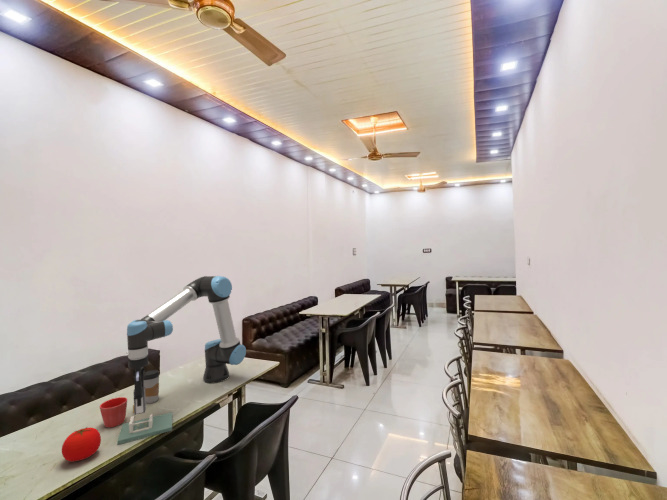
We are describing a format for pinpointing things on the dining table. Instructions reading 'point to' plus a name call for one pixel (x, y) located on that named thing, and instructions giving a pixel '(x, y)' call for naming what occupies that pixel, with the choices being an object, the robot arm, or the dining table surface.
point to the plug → (143, 402)
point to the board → (145, 427)
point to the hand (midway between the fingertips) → (140, 410)
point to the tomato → (81, 444)
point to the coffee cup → (151, 386)
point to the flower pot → (114, 411)
